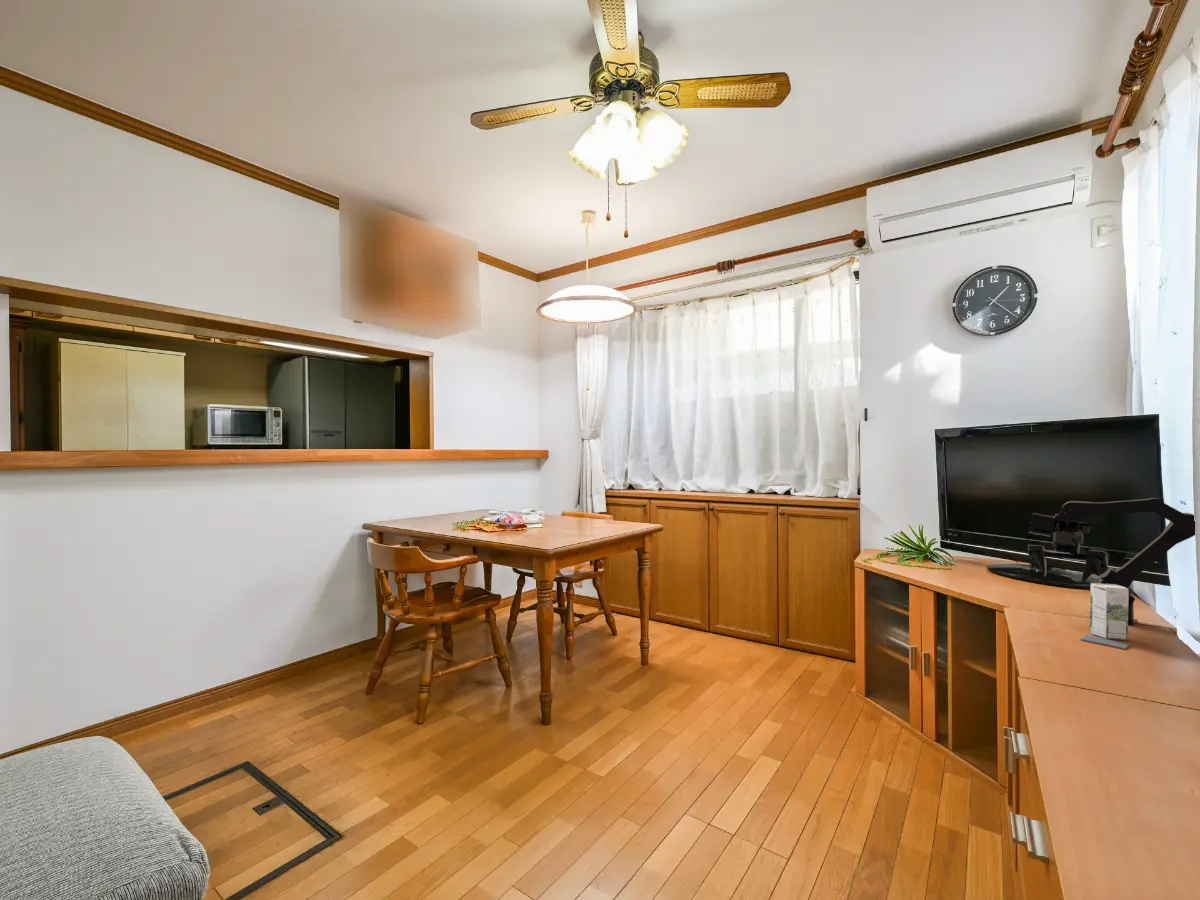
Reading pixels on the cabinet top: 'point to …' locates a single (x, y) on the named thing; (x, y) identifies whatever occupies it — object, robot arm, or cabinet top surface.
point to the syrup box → (1109, 611)
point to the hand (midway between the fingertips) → (1063, 578)
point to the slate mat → (1105, 641)
